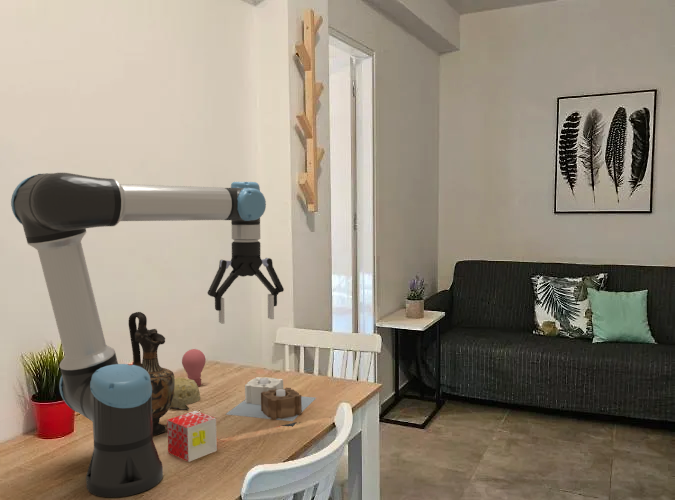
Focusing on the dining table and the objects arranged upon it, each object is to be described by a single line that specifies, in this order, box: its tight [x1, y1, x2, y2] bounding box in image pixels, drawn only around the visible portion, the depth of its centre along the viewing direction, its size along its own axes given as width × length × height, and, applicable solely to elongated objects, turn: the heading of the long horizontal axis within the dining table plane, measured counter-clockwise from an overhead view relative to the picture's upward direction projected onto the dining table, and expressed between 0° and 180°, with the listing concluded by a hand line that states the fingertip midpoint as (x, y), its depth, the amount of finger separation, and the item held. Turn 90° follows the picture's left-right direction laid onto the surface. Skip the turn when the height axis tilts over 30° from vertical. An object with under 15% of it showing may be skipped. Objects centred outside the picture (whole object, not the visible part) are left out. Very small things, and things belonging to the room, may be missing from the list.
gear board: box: [225, 377, 317, 428], centre depth 170 cm, size 19×19×8 cm
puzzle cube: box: [166, 410, 218, 463], centre depth 144 cm, size 8×8×8 cm
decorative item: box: [169, 376, 201, 410], centre depth 176 cm, size 10×10×10 cm
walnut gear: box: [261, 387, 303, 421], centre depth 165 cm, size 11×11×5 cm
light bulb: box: [181, 348, 207, 387], centre depth 192 cm, size 7×7×12 cm
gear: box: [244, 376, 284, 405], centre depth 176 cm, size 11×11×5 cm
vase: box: [128, 311, 176, 436], centre depth 156 cm, size 12×12×30 cm
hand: (246, 320), depth 165 cm, fingers open, 13 cm apart
